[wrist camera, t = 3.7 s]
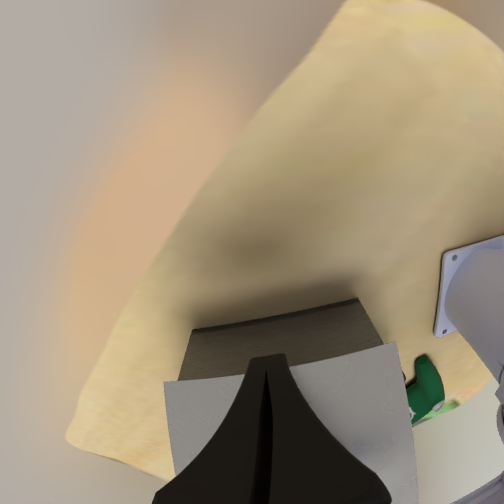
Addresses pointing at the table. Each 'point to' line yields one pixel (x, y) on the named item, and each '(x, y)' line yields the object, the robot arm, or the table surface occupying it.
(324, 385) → the lid
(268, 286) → the table surface
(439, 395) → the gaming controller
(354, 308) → the storage bin
